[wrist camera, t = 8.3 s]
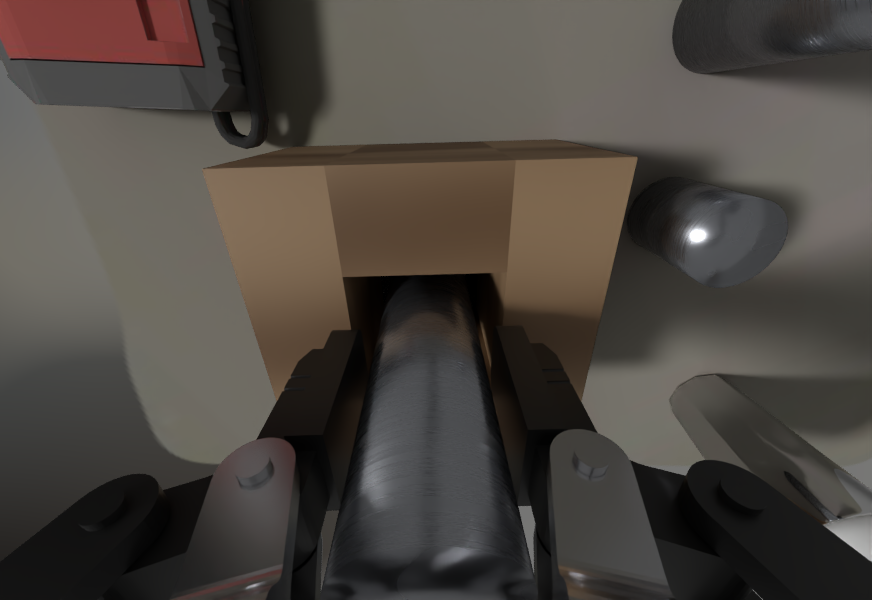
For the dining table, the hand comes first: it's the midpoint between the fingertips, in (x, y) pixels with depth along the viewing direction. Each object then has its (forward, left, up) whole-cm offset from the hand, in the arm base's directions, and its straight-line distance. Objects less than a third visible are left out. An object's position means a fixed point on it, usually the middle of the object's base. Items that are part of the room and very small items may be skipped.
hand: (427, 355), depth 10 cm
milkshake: (+8, +15, -7) cm, 18 cm away
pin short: (-2, +10, -7) cm, 12 cm away
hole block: (0, 0, -7) cm, 7 cm away
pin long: (0, 0, -6) cm, 6 cm away
